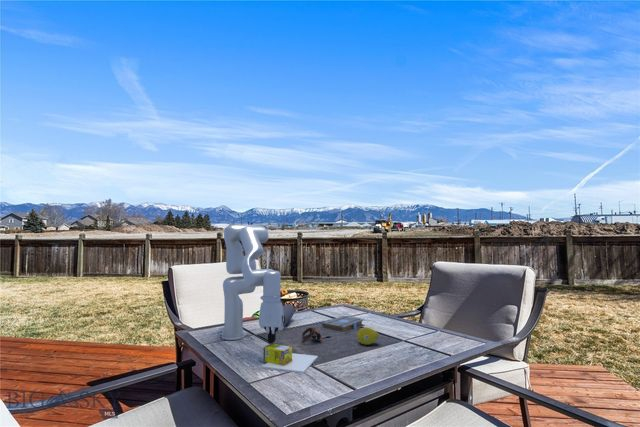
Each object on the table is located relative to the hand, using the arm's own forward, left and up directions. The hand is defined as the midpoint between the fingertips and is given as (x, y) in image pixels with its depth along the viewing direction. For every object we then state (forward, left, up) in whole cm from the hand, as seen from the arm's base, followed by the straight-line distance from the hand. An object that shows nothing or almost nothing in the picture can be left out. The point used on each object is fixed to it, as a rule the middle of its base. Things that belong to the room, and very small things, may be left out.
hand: (271, 342), depth 150 cm
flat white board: (+9, 0, -8) cm, 12 cm away
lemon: (+36, +33, -8) cm, 49 cm away
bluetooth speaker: (-19, +57, -8) cm, 61 cm away
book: (+17, +60, -8) cm, 63 cm away
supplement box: (-2, -1, -4) cm, 5 cm away
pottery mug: (+9, +30, -8) cm, 32 cm away
